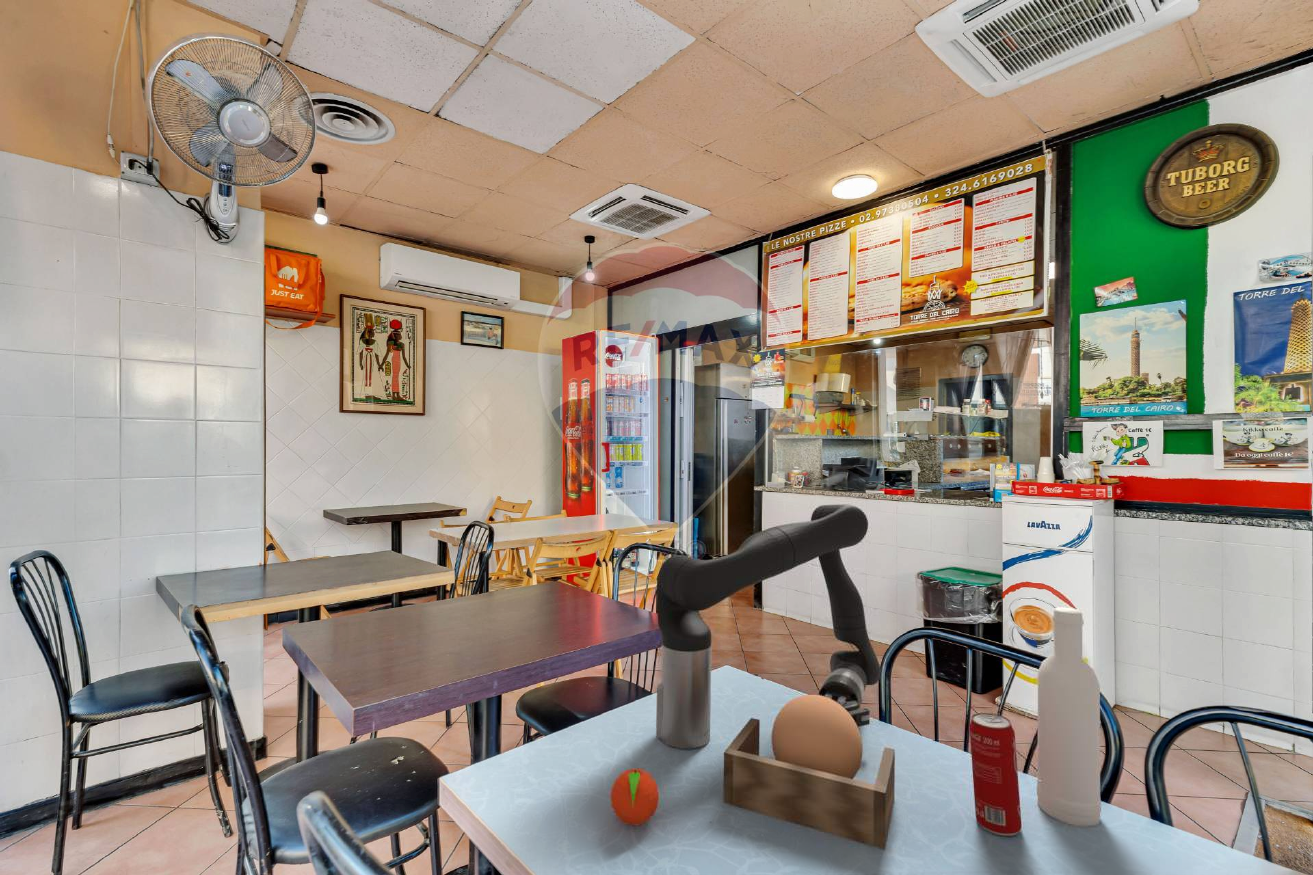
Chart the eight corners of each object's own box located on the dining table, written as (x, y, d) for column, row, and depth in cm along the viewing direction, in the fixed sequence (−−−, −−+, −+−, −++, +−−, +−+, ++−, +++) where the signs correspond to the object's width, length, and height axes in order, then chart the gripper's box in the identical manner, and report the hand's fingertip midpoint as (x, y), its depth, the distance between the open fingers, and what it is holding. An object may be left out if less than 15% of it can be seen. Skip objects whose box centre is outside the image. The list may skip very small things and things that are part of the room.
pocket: (723, 802, 91) (723, 752, 91) (750, 762, 103) (751, 717, 103) (885, 849, 80) (885, 792, 81) (894, 798, 92) (894, 749, 93)
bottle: (1042, 819, 88) (1042, 613, 88) (1031, 791, 95) (1031, 601, 96) (1108, 833, 85) (1107, 619, 85) (1092, 803, 92) (1092, 606, 93)
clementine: (658, 842, 81) (658, 788, 82) (607, 840, 81) (607, 787, 82) (658, 807, 89) (659, 758, 90) (612, 805, 89) (613, 757, 90)
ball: (782, 762, 104) (758, 794, 92) (785, 678, 106) (762, 698, 93) (867, 783, 98) (854, 820, 85) (869, 694, 100) (856, 718, 87)
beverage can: (1028, 841, 83) (1028, 731, 83) (977, 834, 84) (977, 726, 84) (1011, 815, 89) (1011, 713, 89) (964, 809, 90) (964, 708, 90)
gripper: (808, 668, 121) (786, 699, 105) (877, 680, 115) (865, 714, 100) (808, 705, 121) (786, 742, 105) (877, 719, 115) (865, 760, 99)
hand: (825, 728), depth 102 cm, fingers closed
